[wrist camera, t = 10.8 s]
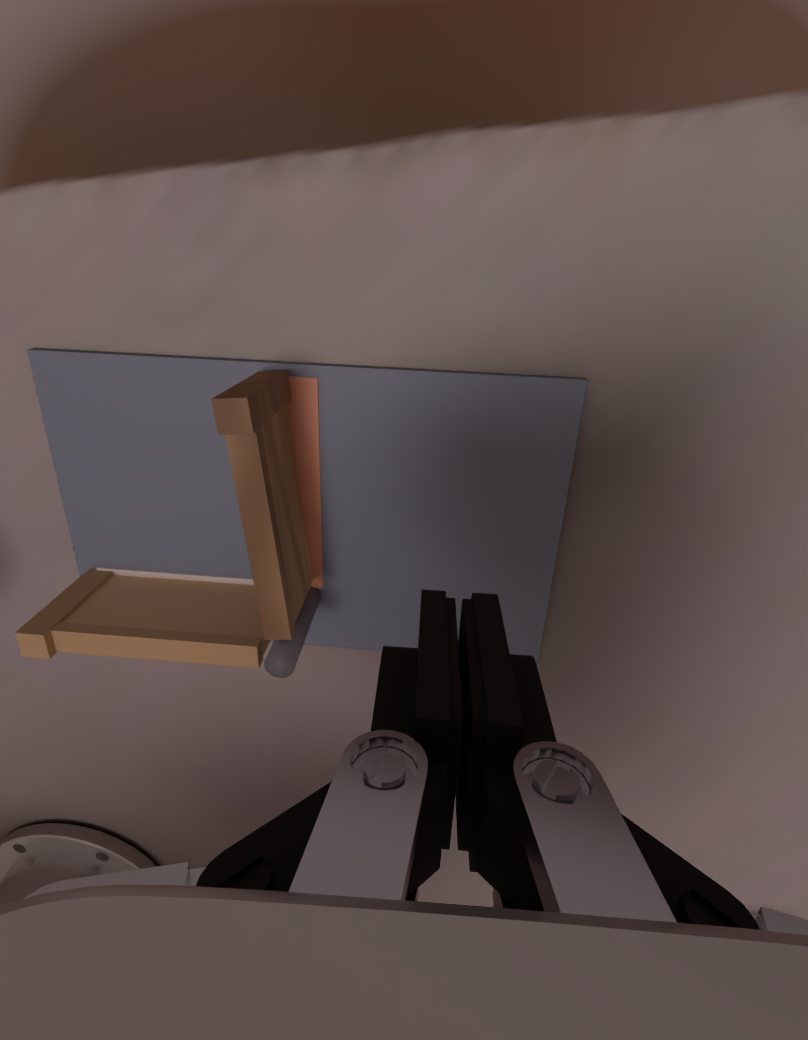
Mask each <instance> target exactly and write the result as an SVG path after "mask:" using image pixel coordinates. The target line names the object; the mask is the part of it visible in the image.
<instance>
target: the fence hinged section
mask: <svg viewBox="0 0 808 1040" xmlns="http://www.w3.org/2000/svg"><path fill="white" fill-rule="evenodd" d="M291 400H292V398H291V391H290V384H289V377H288V370H277V371H258V372H257V373H255V374H253V375H251V376H250V377H248V378H246V379H245V380H243V381H241V382H239V383H238V384H236V385H234V386H233V387H231V388H229V389H227V390H226V391H224V392H222V393H221V394H219V395H217V396H216V397H214V398H212V399H211V401H212V406H213V411H214V416H215V421H216V426H217V431H218V435H225V439H226V444H227V449H228V454H229V459H230V464H231V470H232V475H233V480H234V485H235V490H236V495H237V500H238V505H239V510H240V515H241V521H242V526H243V531H244V536H245V541H246V546H247V551H248V556H249V561H250V567H251V572H252V577H253V582H254V587H255V592H256V597H257V602H258V607H259V612H260V618H261V623H262V628H263V633H264V638H265V640H292V637H293V635H294V632H295V626H294V624H295V622H296V619H297V617H298V615H299V612H300V610H301V607H302V605H303V603H304V600H305V598H306V596H307V593H308V591H309V589H310V586H311V584H312V582H313V577H312V570H311V563H310V556H309V549H308V542H307V535H306V528H305V521H304V515H303V508H302V501H301V494H300V487H299V480H298V473H297V466H296V459H295V452H294V445H293V438H292V432H291V425H290V418H289V411H288V404H287V403H289V402H290V401H291Z"/></svg>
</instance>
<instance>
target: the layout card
mask: <svg viewBox="0 0 808 1040" xmlns="http://www.w3.org/2000/svg"><path fill="white" fill-rule="evenodd" d="M27 352H28V356H29V360H30V364H31V369H32V373H33V377H34V381H35V386H36V390H37V394H38V399H39V403H40V407H41V411H42V416H43V420H44V424H45V428H46V433H47V437H48V441H49V445H50V450H51V454H52V458H53V462H54V467H55V471H56V475H57V479H58V484H59V488H60V492H61V496H62V501H63V505H64V509H65V513H66V518H67V522H68V526H69V530H70V535H71V539H72V543H73V547H74V552H75V556H76V560H77V564H78V569H79V573H80V577H79V578H78V579H77V580H76V581H75V582H74V583H72V584H71V585H70V586H69V587H68V588H67V589H65V590H64V591H63V592H62V593H61V594H60V595H58V596H57V597H56V598H55V599H54V600H53V601H51V602H50V603H49V604H48V605H47V606H46V607H44V608H43V609H42V610H41V611H40V612H39V613H37V614H36V615H35V616H34V617H33V618H32V619H30V620H29V621H28V622H27V623H26V624H25V625H24V626H22V627H21V628H20V629H19V630H18V631H17V632H15V635H16V638H17V642H18V645H19V648H20V651H21V655H22V657H33V658H45V659H50V658H51V657H52V656H53V655H54V654H55V653H56V652H64V653H76V654H88V655H101V656H113V657H125V658H138V659H150V660H162V661H174V662H187V663H199V664H211V665H223V666H236V667H248V668H259V667H260V665H261V662H262V660H263V655H264V653H265V651H266V648H267V646H268V644H269V642H273V645H272V647H271V649H270V651H269V653H268V656H267V658H266V660H265V668H266V670H267V672H268V673H269V674H271V675H272V676H275V677H278V678H285V677H288V676H290V675H291V674H292V673H293V670H294V668H295V665H296V663H297V660H298V657H299V655H300V652H301V649H302V647H303V644H306V645H318V646H331V647H344V648H356V649H369V650H383V646H394V647H409V648H418V638H419V622H420V606H421V591H422V589H424V590H440V591H446V597H448V598H455V602H456V617H457V633H458V637H459V627H460V617H461V606H462V599H471V597H472V593H487V594H498V598H499V603H500V608H501V613H502V618H503V623H504V628H505V633H506V638H507V643H508V648H509V653H510V654H516V655H531V656H533V657H534V659H535V662H536V663H538V659H539V654H540V648H541V642H542V637H543V631H544V625H545V620H546V614H547V608H548V603H549V597H550V591H551V586H552V580H553V574H554V569H555V563H556V557H557V552H558V546H559V540H560V535H561V529H562V523H563V518H564V512H565V506H566V501H567V495H568V489H569V484H570V478H571V473H572V467H573V461H574V456H575V450H576V444H577V439H578V433H579V427H580V422H581V416H582V410H583V405H584V399H585V393H586V388H587V382H588V380H587V379H586V378H572V377H554V376H535V375H517V374H499V373H480V372H462V371H443V370H425V369H406V368H388V367H369V366H351V365H333V364H314V363H296V362H277V361H259V360H240V359H222V358H204V357H185V356H167V355H148V354H130V353H111V352H93V351H74V350H56V349H38V348H32V349H28V350H27ZM277 370H288V377H289V384H290V391H291V398H292V400H291V401H290V402H289V403H287V404H288V411H289V418H290V425H291V432H292V438H293V445H294V452H295V459H296V466H297V473H298V480H299V487H300V494H301V501H302V508H303V515H304V521H305V528H306V535H307V542H308V549H309V556H310V563H311V570H312V577H313V582H312V584H311V586H310V589H309V591H308V593H307V596H306V598H305V600H304V603H303V605H302V607H301V610H300V612H299V615H298V617H297V619H296V622H295V624H294V626H295V632H294V635H293V637H292V640H265V638H264V633H263V628H262V623H261V618H260V612H259V607H258V602H257V597H256V592H255V587H254V582H253V577H252V572H251V567H250V561H249V556H248V551H247V546H246V541H245V536H244V531H243V526H242V521H241V515H240V510H239V505H238V500H237V495H236V490H235V485H234V480H233V475H232V470H231V464H230V459H229V454H228V449H227V444H226V439H225V435H218V431H217V426H216V421H215V416H214V411H213V406H212V401H211V399H212V398H214V397H216V396H217V395H219V394H221V393H222V392H224V391H226V390H227V389H229V388H231V387H233V386H234V385H236V384H238V383H239V382H241V381H243V380H245V379H246V378H248V377H250V376H251V375H253V374H255V373H257V372H258V371H277Z"/></svg>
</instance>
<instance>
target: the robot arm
mask: <svg viewBox="0 0 808 1040" xmlns="http://www.w3.org/2000/svg"><path fill="white" fill-rule="evenodd" d="M455 792H456V816H457V841H458V850H463V851H469V866H470V871H471V872H478V873H479V874H480V875H481V876H482V877H483V878H484V879H485V880H486V881H487V882H488V883H489V884H490V885H491V886H492V887H493V903H494V907H481V906H469V905H456V904H443V903H430V902H418V901H417V899H418V887H419V886H420V885H421V884H422V883H424V882H425V881H426V880H427V879H428V878H429V877H430V876H431V875H433V874H434V873H435V872H436V871H437V870H438V869H439V868H440V859H441V849H449V847H450V839H451V829H452V820H453V811H454V802H455ZM0 1040H808V920H805V919H802V918H798V917H795V916H791V915H788V914H784V913H781V912H778V911H774V910H771V909H767V908H764V907H760V910H759V912H758V914H756V913H753V912H749V911H748V910H747V909H746V907H745V906H744V905H743V904H742V903H741V902H740V901H739V900H738V899H736V898H735V897H734V896H733V895H732V894H731V893H730V892H728V891H727V890H726V889H724V888H723V887H722V886H720V885H719V884H718V883H716V882H715V881H713V880H712V879H711V878H709V877H708V876H706V875H705V874H704V873H702V872H701V871H700V870H698V869H697V868H695V867H694V866H693V865H691V864H690V863H688V862H687V861H686V860H684V859H683V858H682V857H680V856H679V855H677V854H676V853H675V852H673V851H672V850H670V849H669V848H668V847H666V846H665V845H664V844H662V843H661V842H659V841H658V840H657V839H655V838H654V837H652V836H651V835H650V834H648V833H647V832H646V831H644V830H643V829H641V828H640V827H639V826H637V825H636V824H634V823H633V822H632V821H630V820H629V819H628V818H626V817H625V816H623V815H622V814H621V813H620V811H619V809H618V807H617V805H616V803H615V801H614V799H613V797H612V795H611V793H610V791H609V789H608V788H607V786H606V784H605V782H604V780H603V778H602V776H601V774H600V772H599V771H598V769H597V768H596V766H595V765H594V764H593V762H592V761H591V760H590V759H588V758H587V757H586V756H585V755H584V754H583V753H581V752H580V751H578V750H576V749H574V748H572V747H570V746H568V745H564V744H561V743H558V742H557V741H556V738H555V734H554V730H553V726H552V722H551V719H550V715H549V711H548V707H547V703H546V699H545V696H544V692H543V688H542V684H541V680H540V677H539V673H538V669H537V665H536V662H535V659H534V657H533V656H531V655H516V654H510V653H509V648H508V643H507V638H506V633H505V628H504V623H503V618H502V613H501V608H500V603H499V598H498V594H487V593H472V597H471V599H462V606H461V617H460V627H459V637H458V633H457V617H456V602H455V598H448V597H446V591H440V590H424V589H422V591H421V606H420V622H419V638H418V648H409V647H394V646H383V650H382V656H381V663H380V670H379V677H378V684H377V691H376V698H375V705H374V712H373V719H372V726H371V732H367V733H365V734H363V735H361V736H358V737H357V738H356V739H354V740H353V741H352V742H351V743H350V744H349V745H348V746H347V748H346V749H345V751H344V753H343V755H342V757H341V760H340V762H339V765H338V767H337V770H336V772H335V775H334V778H333V780H332V782H330V783H329V784H327V785H326V786H324V787H322V788H321V789H319V790H318V791H316V792H315V793H313V794H312V795H310V796H308V797H307V798H305V799H304V800H302V801H301V802H299V803H298V804H296V805H294V806H293V807H291V808H290V809H288V810H287V811H285V812H284V813H282V814H280V815H279V816H277V817H276V818H274V819H273V820H271V821H270V822H268V823H267V824H265V825H263V826H262V827H260V828H259V829H257V830H256V831H254V832H253V833H251V834H249V835H248V836H246V837H245V838H243V839H242V840H240V841H239V842H237V843H235V844H234V845H232V846H231V847H229V848H228V849H226V850H225V851H223V852H222V853H221V854H219V855H218V856H217V857H216V858H214V859H213V860H212V861H211V862H210V863H209V864H208V865H207V867H202V868H195V869H190V867H189V862H184V863H177V864H171V865H164V866H156V865H155V864H154V863H153V862H152V861H151V860H150V859H149V858H148V857H147V856H145V855H144V854H143V853H141V852H140V851H139V850H137V849H136V848H134V847H133V846H131V845H129V844H127V843H126V842H124V841H122V840H120V839H118V838H116V837H114V836H111V835H109V834H106V833H104V832H102V831H98V830H95V829H91V828H88V827H84V826H78V825H72V824H66V823H44V824H35V825H30V826H27V827H23V828H20V829H17V830H15V831H14V832H12V833H10V834H8V835H7V836H6V837H5V838H4V839H3V840H2V841H1V842H0Z"/></svg>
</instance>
